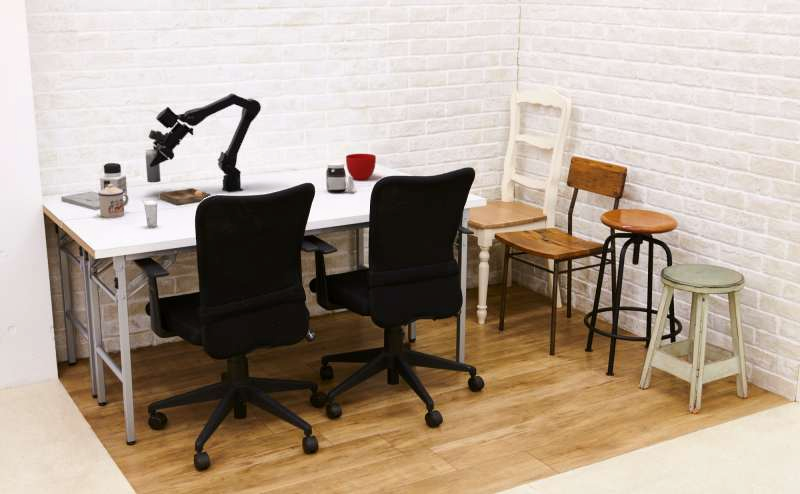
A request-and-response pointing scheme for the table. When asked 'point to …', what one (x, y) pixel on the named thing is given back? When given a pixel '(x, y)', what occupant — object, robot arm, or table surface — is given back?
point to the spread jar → (338, 178)
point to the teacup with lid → (112, 201)
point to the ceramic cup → (360, 165)
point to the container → (113, 177)
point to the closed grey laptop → (84, 200)
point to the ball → (198, 193)
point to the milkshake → (151, 213)
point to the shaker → (154, 171)
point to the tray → (182, 196)
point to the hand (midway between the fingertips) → (149, 165)
